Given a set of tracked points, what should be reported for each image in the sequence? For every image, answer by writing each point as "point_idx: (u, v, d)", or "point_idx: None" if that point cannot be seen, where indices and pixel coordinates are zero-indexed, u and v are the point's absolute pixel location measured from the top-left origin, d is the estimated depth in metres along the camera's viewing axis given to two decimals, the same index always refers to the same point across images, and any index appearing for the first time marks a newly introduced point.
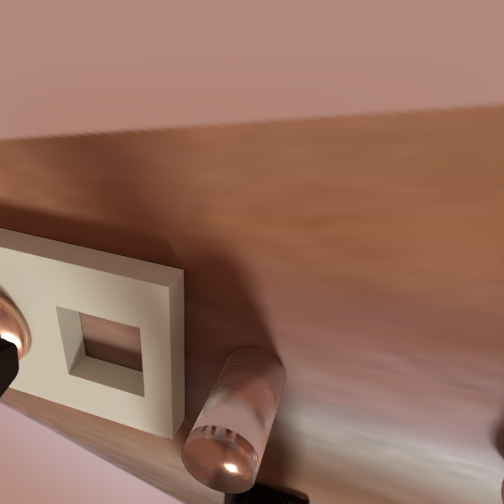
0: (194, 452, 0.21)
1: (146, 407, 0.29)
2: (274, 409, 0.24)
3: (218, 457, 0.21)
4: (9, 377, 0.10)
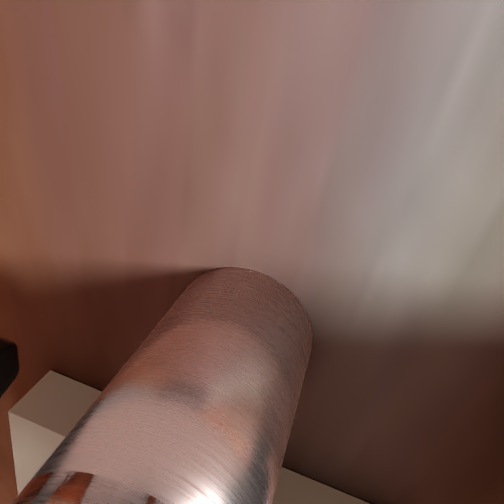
0: None
1: None
2: (194, 336, 0.09)
3: None
4: (9, 377, 0.10)
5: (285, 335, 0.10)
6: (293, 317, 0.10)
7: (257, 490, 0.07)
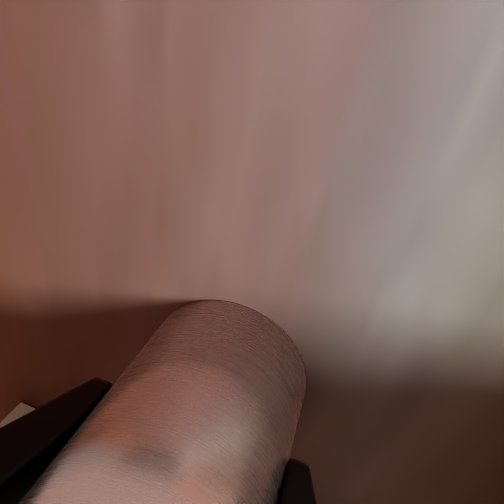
0: None
1: None
2: (163, 393, 0.07)
3: None
4: None
5: (273, 385, 0.08)
6: (283, 360, 0.09)
7: None
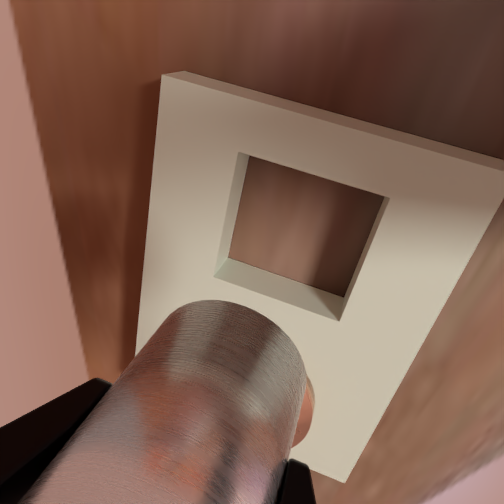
0: None
1: (416, 203, 0.15)
2: (163, 393, 0.07)
3: None
4: None
5: (273, 385, 0.08)
6: (283, 360, 0.09)
7: None
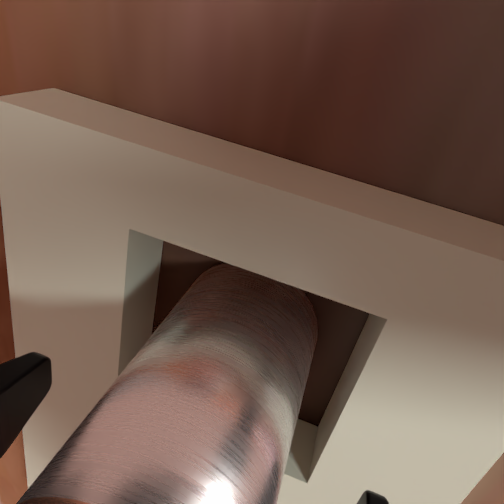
0: None
1: (433, 332, 0.09)
2: (206, 325, 0.09)
3: None
4: (43, 391, 0.09)
5: (292, 325, 0.10)
6: (299, 308, 0.11)
7: (267, 469, 0.07)
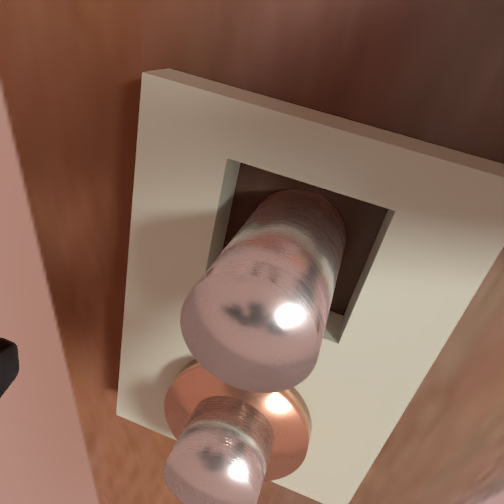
0: (220, 362, 0.12)
1: (424, 218, 0.14)
2: (280, 216, 0.14)
3: (221, 326, 0.12)
4: (9, 377, 0.10)
5: (332, 224, 0.15)
6: (335, 217, 0.16)
7: (325, 286, 0.12)
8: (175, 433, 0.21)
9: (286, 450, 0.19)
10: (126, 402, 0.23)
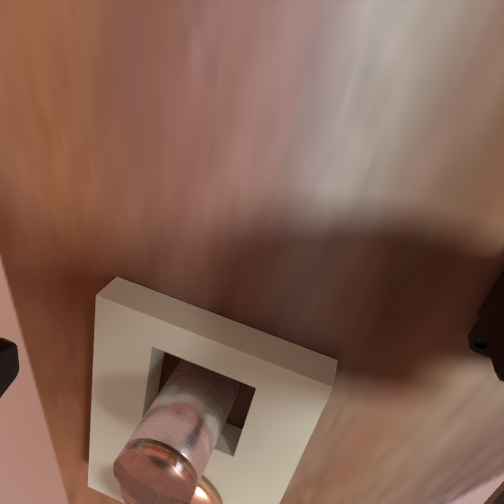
0: (138, 493, 0.20)
1: (273, 394, 0.22)
2: (183, 389, 0.22)
3: (136, 476, 0.20)
4: (9, 377, 0.10)
5: (222, 386, 0.23)
6: (227, 377, 0.24)
7: (203, 446, 0.20)
8: None
9: None
10: (95, 478, 0.31)
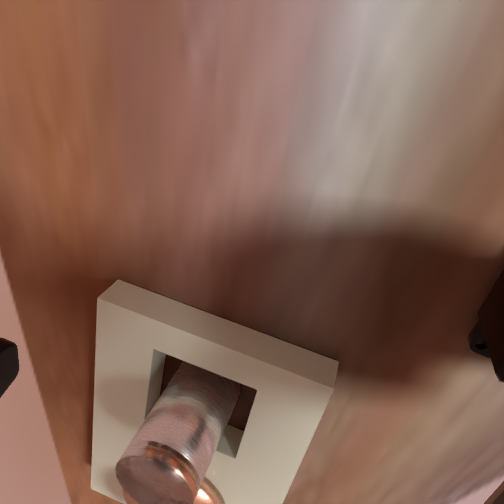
0: (141, 496, 0.20)
1: (274, 395, 0.22)
2: (185, 391, 0.22)
3: (138, 478, 0.20)
4: (9, 377, 0.10)
5: (224, 388, 0.23)
6: (229, 379, 0.24)
7: (205, 448, 0.20)
8: None
9: None
10: (97, 481, 0.31)
